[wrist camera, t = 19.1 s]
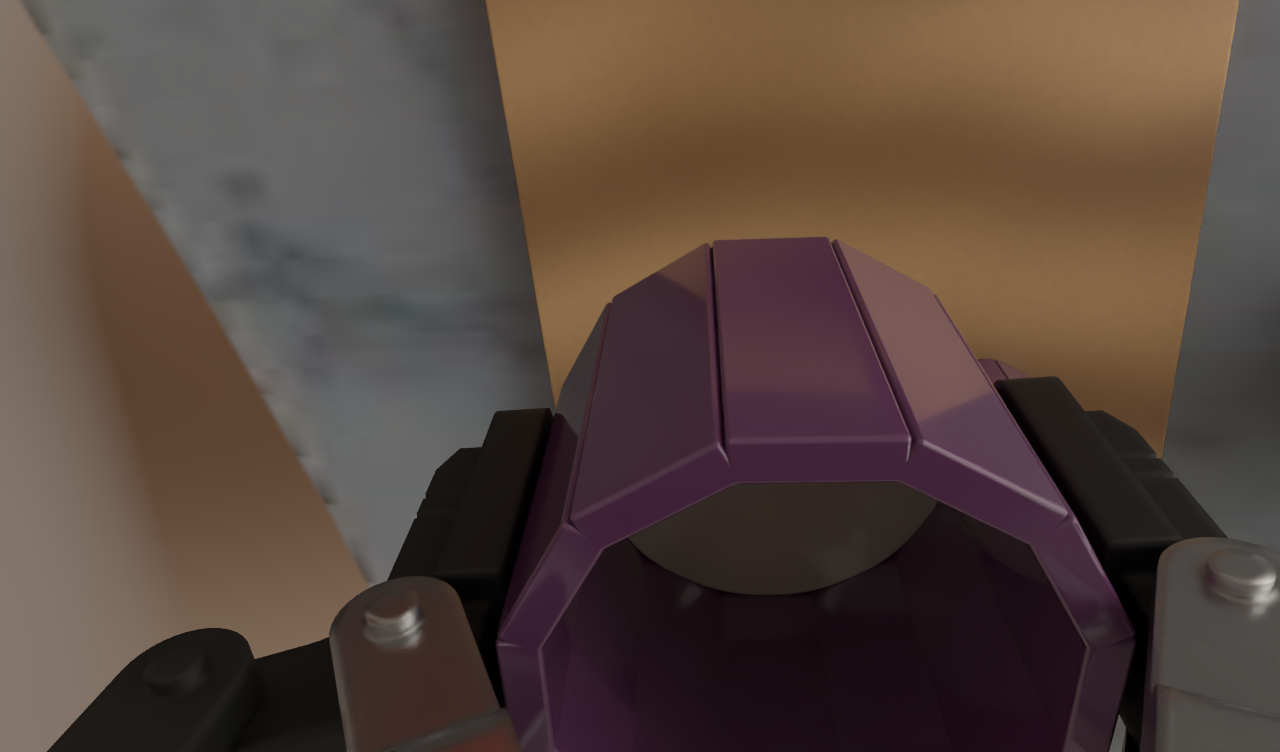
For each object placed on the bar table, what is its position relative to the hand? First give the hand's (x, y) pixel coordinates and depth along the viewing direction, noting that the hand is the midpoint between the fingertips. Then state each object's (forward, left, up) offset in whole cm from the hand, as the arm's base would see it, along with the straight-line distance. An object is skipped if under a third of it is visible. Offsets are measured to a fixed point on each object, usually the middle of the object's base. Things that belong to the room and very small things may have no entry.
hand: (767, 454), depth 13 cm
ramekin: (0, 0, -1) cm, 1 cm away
